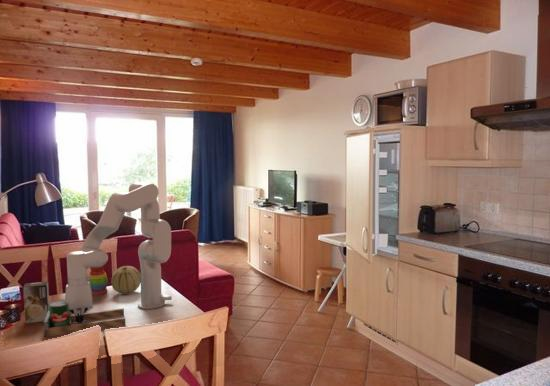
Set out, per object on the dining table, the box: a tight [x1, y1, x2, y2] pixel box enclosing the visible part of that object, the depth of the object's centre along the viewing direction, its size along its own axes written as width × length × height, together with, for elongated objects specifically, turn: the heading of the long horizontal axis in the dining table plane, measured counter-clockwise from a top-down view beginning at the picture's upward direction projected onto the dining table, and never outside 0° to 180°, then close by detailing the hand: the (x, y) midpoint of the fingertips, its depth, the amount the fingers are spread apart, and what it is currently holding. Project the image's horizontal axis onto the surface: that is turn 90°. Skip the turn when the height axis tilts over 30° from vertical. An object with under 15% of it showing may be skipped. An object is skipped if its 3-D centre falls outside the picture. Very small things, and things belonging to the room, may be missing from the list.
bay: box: [43, 308, 126, 338], centre depth 172 cm, size 30×13×6 cm, turn 113°
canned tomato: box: [49, 299, 72, 328], centre depth 168 cm, size 8×8×11 cm
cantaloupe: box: [110, 265, 141, 295], centre depth 215 cm, size 15×15×15 cm
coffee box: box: [22, 280, 50, 324], centre depth 178 cm, size 9×6×16 cm
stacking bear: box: [88, 264, 109, 297], centre depth 215 cm, size 11×10×18 cm
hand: (79, 323), depth 171 cm, fingers closed
